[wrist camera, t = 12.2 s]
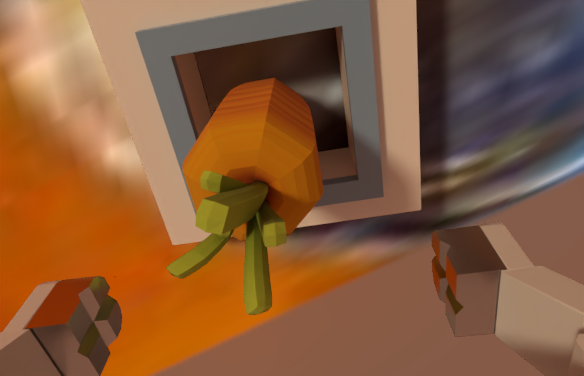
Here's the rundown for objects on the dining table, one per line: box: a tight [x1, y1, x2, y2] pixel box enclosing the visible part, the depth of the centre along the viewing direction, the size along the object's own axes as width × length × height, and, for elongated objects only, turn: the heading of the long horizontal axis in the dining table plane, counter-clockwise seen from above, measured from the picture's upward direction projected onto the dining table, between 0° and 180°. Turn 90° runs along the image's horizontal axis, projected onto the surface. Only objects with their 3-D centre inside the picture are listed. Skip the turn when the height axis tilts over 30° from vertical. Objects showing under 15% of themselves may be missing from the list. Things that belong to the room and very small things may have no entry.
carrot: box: [166, 78, 323, 315], centre depth 17 cm, size 5×5×15 cm
